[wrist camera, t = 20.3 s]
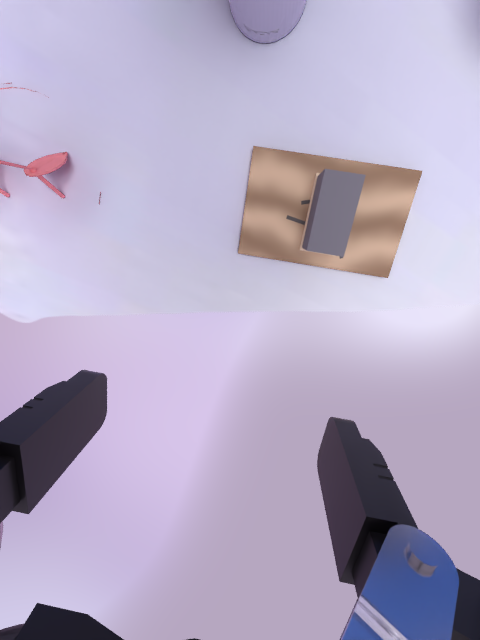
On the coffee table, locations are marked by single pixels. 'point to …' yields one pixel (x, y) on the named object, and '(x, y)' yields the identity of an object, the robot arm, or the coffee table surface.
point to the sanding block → (331, 212)
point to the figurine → (42, 167)
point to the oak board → (293, 203)
